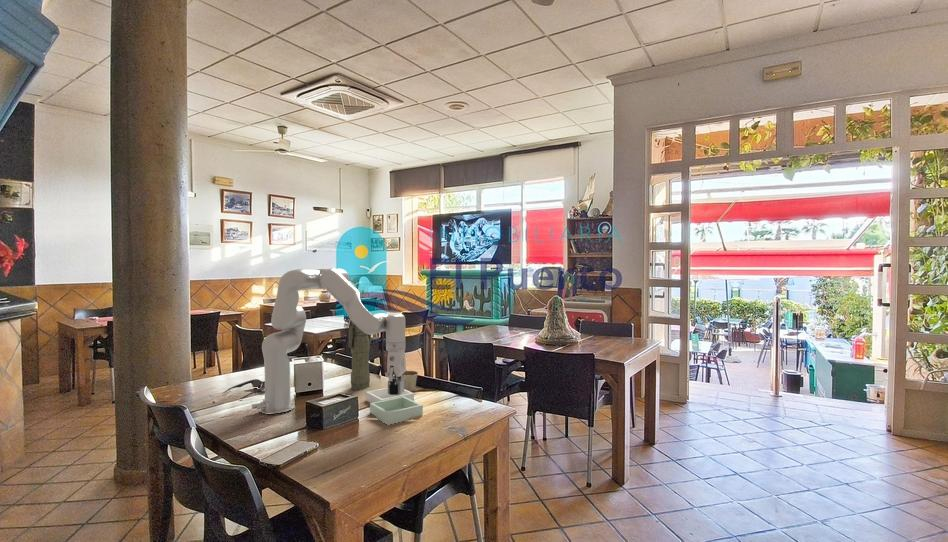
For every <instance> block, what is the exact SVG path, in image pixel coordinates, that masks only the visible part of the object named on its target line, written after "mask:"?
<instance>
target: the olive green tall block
mask: <svg viewBox="0 0 948 542" xmlns="http://www.w3.org/2000/svg"><path fill="white" fill-rule="evenodd" d="M371 344H372V335H368V334H366V333H364V332H363V331H361V330H360V329H359V328H358V327H357V326H356V325H355V324H354V323H353V322H352V321H351V325H350V326H349V328H348V348H350V353H351V373H350V389H351V390H352V389H354V390H353V391H359V390H361V389H367V388H370V387H371V386H370V381H371V378H370V377H371V374H370V370H369V368H370V367H369V365H370V364H369V360H370V359H369V356H370V345H371Z"/></svg>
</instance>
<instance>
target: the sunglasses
mask: <svg viewBox="0 0 948 542" xmlns="http://www.w3.org/2000/svg"><path fill="white" fill-rule="evenodd" d="M249 384H250V385H252V388H253V387H258V388H260V389H255V390H254V391H251V392H250V393H248V394H246V395H244V396H242V397H241V398H240V399H242V398H244V399H245V398H247V397H248V396H250V395H253V394H256V393H261V392H262V391H264V389H265V380H264V381H262V380H260V379H258V378H257V379H255V378H254V379H250V380H246V381H245V382H242V383H239V384H236V385H233V386H231V387H229V388H228V389H226V390H225V391H224V392H223V393H225V392H226V393H227V392H228V391H230V390H233V389H236V388H242V387H244V386H246V385H249ZM226 393H225V394H226ZM242 400H243V399H242Z"/></svg>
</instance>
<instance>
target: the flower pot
mask: <svg viewBox="0 0 948 542" xmlns="http://www.w3.org/2000/svg"><path fill="white" fill-rule="evenodd" d="M412 374H414V375H412ZM418 375H419V372H418V371H416V370H406V371H405V372H404V373H403V374H402V378H404V389H405V390H408V391H410V392H414V391H415V390H416V385H417V379H418Z"/></svg>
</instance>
